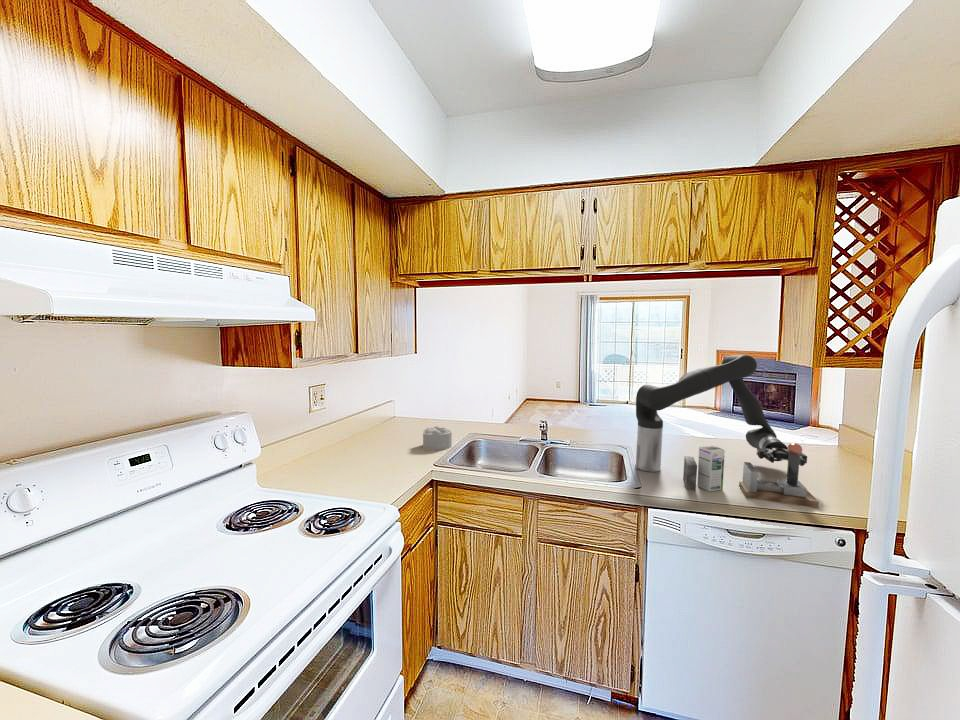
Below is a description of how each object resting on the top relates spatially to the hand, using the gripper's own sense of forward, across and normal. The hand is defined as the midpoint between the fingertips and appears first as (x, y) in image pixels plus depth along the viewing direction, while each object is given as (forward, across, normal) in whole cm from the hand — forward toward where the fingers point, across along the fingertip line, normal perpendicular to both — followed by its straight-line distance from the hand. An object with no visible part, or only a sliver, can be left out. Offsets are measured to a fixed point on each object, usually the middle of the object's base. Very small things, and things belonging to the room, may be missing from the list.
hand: (787, 461), depth 143 cm
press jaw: (+5, -5, +9) cm, 11 cm away
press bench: (+5, -13, +11) cm, 18 cm away
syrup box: (+5, -24, +11) cm, 27 cm away
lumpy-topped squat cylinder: (-1, -134, +11) cm, 135 cm away
